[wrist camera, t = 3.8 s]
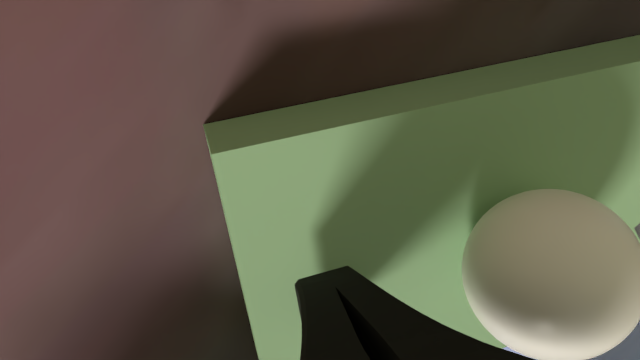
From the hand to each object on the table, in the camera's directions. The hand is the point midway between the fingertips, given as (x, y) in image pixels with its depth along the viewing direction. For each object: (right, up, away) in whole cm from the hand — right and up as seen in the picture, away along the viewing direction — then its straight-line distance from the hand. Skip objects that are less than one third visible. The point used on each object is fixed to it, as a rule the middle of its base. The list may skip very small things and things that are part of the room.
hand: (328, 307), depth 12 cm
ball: (+5, +1, 0) cm, 5 cm away
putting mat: (+7, +3, +5) cm, 9 cm away
